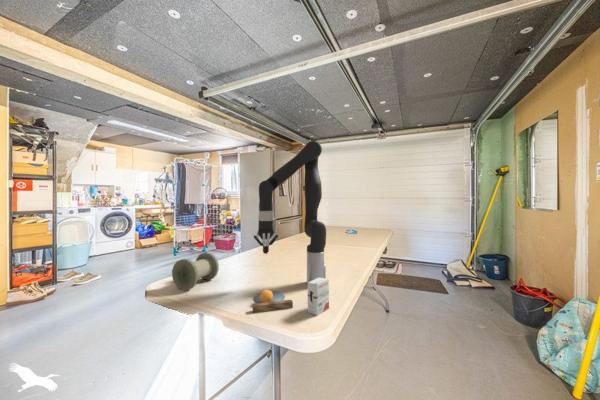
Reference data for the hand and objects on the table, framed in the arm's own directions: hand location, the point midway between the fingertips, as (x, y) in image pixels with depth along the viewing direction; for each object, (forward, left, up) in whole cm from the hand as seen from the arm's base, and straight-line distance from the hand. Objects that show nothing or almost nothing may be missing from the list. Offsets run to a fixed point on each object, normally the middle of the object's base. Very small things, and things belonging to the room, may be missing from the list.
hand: (265, 253), depth 114 cm
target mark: (0, +14, -17) cm, 22 cm away
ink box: (-18, +30, -17) cm, 39 cm away
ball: (+2, +19, -14) cm, 24 cm away
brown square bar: (0, +25, -17) cm, 30 cm away
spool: (+35, -13, -17) cm, 41 cm away
